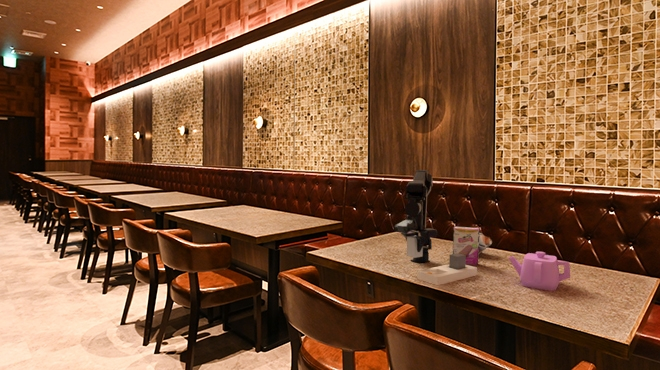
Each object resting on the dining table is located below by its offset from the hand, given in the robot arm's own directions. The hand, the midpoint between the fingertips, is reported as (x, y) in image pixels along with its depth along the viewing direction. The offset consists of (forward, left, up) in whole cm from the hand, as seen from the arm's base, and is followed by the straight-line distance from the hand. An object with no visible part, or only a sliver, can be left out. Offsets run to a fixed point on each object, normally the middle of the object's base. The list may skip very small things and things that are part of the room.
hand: (414, 251), depth 165 cm
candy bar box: (+2, +31, -10) cm, 33 cm away
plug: (0, 0, -2) cm, 2 cm away
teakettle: (+36, +29, -10) cm, 47 cm away
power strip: (+12, +6, -9) cm, 16 cm away
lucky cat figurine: (-9, +52, -10) cm, 53 cm away
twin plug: (+12, +12, -9) cm, 19 cm away
